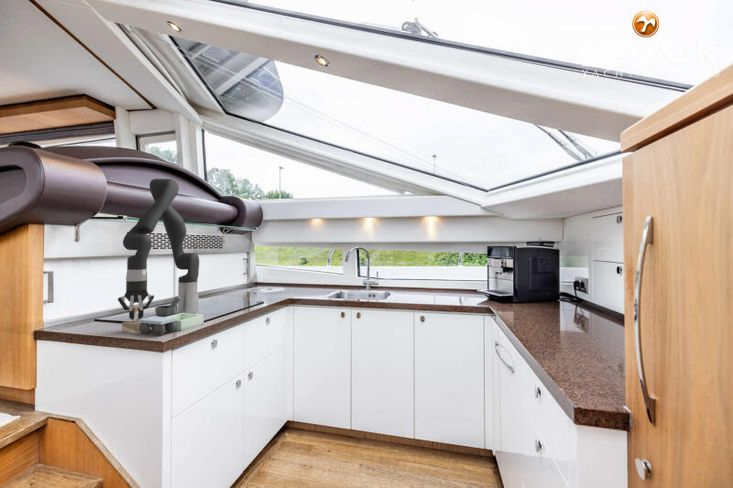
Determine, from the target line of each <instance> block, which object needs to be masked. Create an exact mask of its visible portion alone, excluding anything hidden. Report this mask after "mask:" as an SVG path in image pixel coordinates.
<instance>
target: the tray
mask: <svg viewBox="0 0 733 488" xmlns="http://www.w3.org/2000/svg"><path fill="white" fill-rule="evenodd" d="M167 317H168V318H176V321H174V323H175V325H176V328H175V330H174V332H175V331H176V332H178V331H179V332H182V331H185V330H190V329H193V328H196V327H200V326H202V325H204V323H205V321H204V319H205V318H204V317H205V315H204V314H198V313H194V314H187V313H180V314H178V313H176V315H171V316H167ZM163 325H164V326H165V324H163Z"/></svg>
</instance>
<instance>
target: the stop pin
mask: <svg viewBox="0 0 733 488" xmlns="http://www.w3.org/2000/svg"><path fill="white" fill-rule="evenodd" d="M139 310H140V307H139V306H133V322H135V323H136V322H139V320H140V319H139Z"/></svg>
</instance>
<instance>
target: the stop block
mask: <svg viewBox="0 0 733 488" xmlns="http://www.w3.org/2000/svg"><path fill="white" fill-rule="evenodd" d="M140 324H141V323H140V322H136V323H135V322H133V320H128V321H122V323H121V325H122V326H121V333H131V334H137V333H141V332H140V331H139V325H140ZM149 325H150V323H149Z"/></svg>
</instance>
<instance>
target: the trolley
mask: <svg viewBox="0 0 733 488" xmlns="http://www.w3.org/2000/svg"><path fill="white" fill-rule="evenodd" d="M174 321H176V318H168V317H157V315H154V316H149V317H145V318H144V317H143V318H141V319H140V320H139V322H140V323H141V324H140V325H139V331H140V332H139V333H140V334H142V335H145V334H148V333H149V332H150V331H151V330H152V332H153V333H154V335H156V336H162V335H164V334H165V332H166V333H168V334H169V333H172V332H175V328H176V325H175V323H174ZM149 323H150V325H149ZM163 324H165V326H164V325H163Z"/></svg>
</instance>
